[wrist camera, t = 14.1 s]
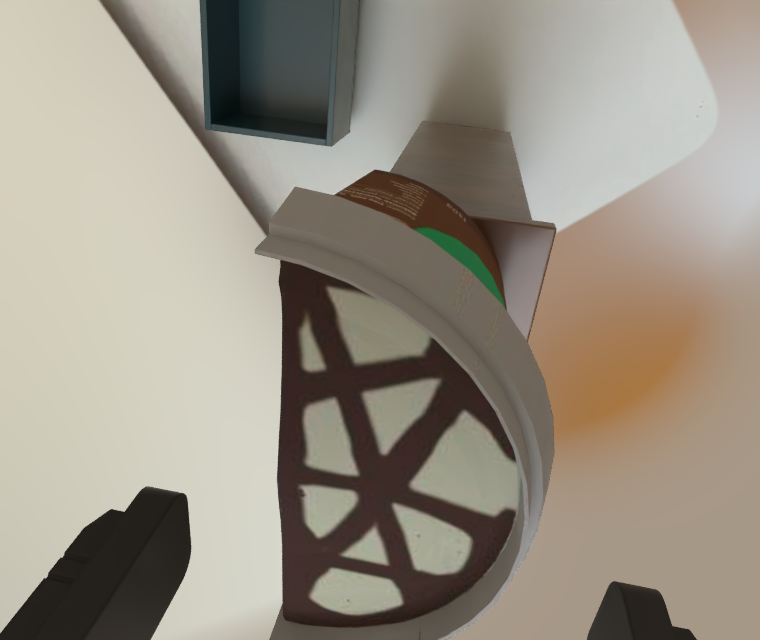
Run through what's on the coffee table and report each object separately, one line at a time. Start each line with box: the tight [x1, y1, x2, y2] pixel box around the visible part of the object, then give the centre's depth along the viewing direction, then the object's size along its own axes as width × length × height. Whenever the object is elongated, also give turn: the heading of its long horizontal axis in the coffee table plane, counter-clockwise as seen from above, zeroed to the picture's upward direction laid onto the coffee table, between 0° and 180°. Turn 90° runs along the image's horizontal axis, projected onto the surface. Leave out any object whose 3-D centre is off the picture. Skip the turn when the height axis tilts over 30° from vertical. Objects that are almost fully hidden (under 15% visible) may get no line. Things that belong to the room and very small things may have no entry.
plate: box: [463, 210, 556, 342], centre depth 21 cm, size 7×7×1 cm
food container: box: [255, 170, 554, 640], centre depth 16 cm, size 12×6×10 cm, turn 175°
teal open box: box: [200, 0, 359, 146], centre depth 35 cm, size 8×14×5 cm, turn 174°
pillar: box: [390, 121, 532, 220], centre depth 31 cm, size 6×6×21 cm
